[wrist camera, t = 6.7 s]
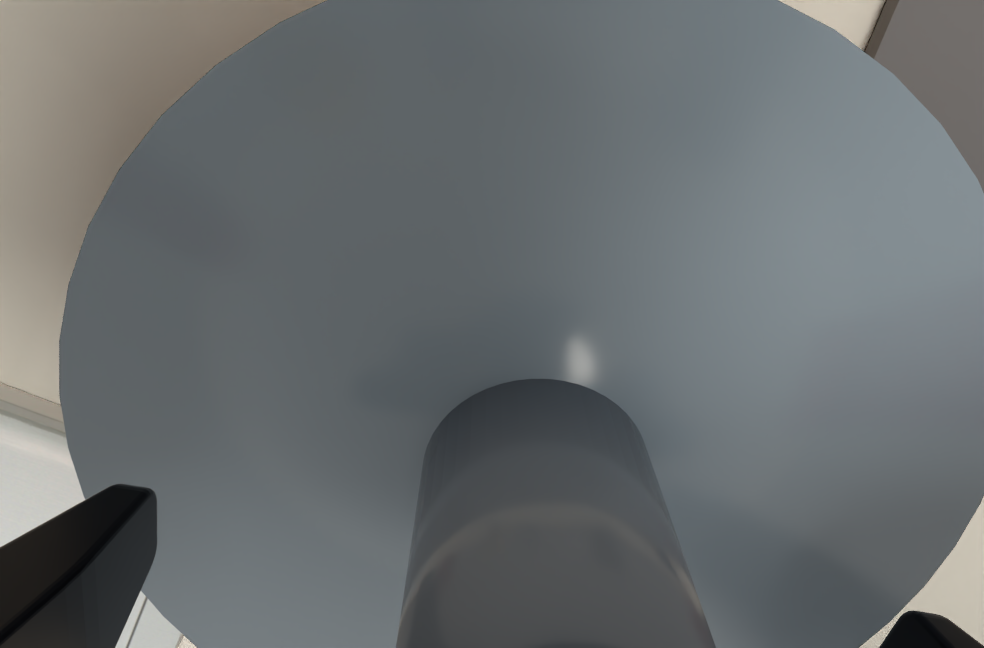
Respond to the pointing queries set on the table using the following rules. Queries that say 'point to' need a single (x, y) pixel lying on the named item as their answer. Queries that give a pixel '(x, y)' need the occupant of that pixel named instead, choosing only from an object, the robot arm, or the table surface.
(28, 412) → the hard drive
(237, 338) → the lid
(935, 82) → the mat
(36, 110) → the table surface
